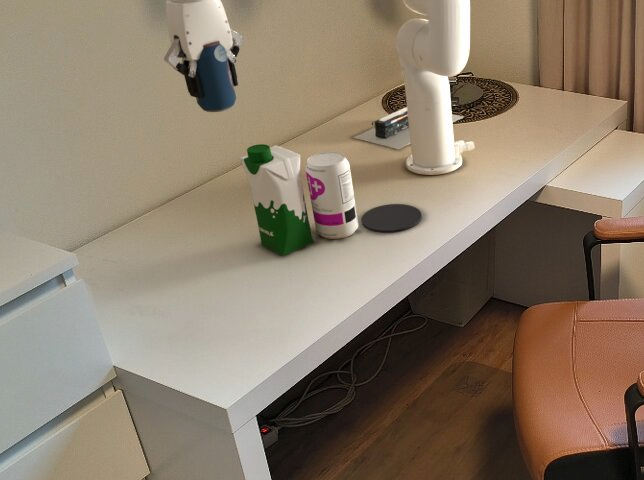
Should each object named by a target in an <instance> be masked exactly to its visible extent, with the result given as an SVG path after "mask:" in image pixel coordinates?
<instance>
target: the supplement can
mask: <svg viewBox="0 0 644 480" xmlns="http://www.w3.org/2000/svg"><path fill="white" fill-rule="evenodd" d="M306 161H307V162H306V164H305V167H304V170H305V176H306V180H307V187H308V193H309V197H310V204H311V209H312V215H313V221H314V227H315V232H316V233H317V234H318V235H319V236H321V237H322V238H324V239H329V240H338V239H339V240H340V239H344V238H347V237H349V236H352V235H353V234H354V233H356V230H358V228H359V219H358V213H357V206H356V200H355V194H354V193H355V191H354V187H353V179H352V172H351V166H350V162H349V161H348V159H347V158H346V156H345V154H343V153H341V152H338V151H323V152H318V153H315V154H312V155H311V156H309V157H308V158H307V160H306Z"/></svg>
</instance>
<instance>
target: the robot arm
mask: <svg viewBox="0 0 644 480" xmlns="http://www.w3.org/2000/svg"><path fill="white" fill-rule="evenodd" d="M402 2H403V4H404V5H405V7H406V8H408V9H409V10H410V11H412V12H414V13H417V14H419V15H423V16H426V17H427V19H425V18H413V19H409V20H407V21H406V22H405V23H403V24H402V25H401V27H399V29H398V32H397V35H396V38H395V46H396V53H397V58H398V61H399V65H400V69H401V72H402V77H403V82H404V91H405V101H406V102H405V103H406V107H407V111H408V121H409V130H410V139H411V143H410V145H411V146H410V149H411V155H409V156H408V157H407V158H406V159H405V167H406V168H407V170H409V171H410V172H412V173H414V174H418V175H423V176H437V175H438V176H439V175H443V174H449V173H452V172H453V171H456V170H458V169H459V168H460V167H462V165H463V156H462V155H463V152H464V153H465V152H469V151H473V150H475V148H476V147H475V143H474V141H473V140H472V141H471V140H470V141H467V142H465V141H464V140H463V139H461V140H458V141H455V140H454V139H455V137H454V125H453V123H452V114H453V112H452V101H451V87H450V82H449V77H450V78H451V77H455V76H457V75H459V74H460V73H461V72H462V71H463V70H464V68H465V67H466V65H467V63H468V60H469V57H470V48H471V47H470V46H471V0H402ZM165 13H166V14H165V15H166V24H167V32H168V37H169V42H170V47H169V48H168V50H167V52H166V54H165V55H164V56H163V57H164V58H163V60H164V62H165V63H167V64H168V65H169V66H171V67H172V68H173V70H175V71H177V72H178V73H180V75H182V76H184V80H185V84H186V88H187V92H188V94H189V95H190V97H192V98H195V99H196V98H200V99H201V98H203V97H204V95H203V91H202V87H201V82H200V78H199V76H196V75H195V74H196V68H197V62H196V61H197V60H198V59H200V55H201V52H202V50H203V46H204V45H209V44H213V43H216V42H218V41H220V44H221V45H222V46H223V47H224V48H225V49H226V54H227V58H228V63H229V67H230V72H231V76H232V81H233V85H234V87H237V86H239V82H238V74H237V70H236V65H235V64H236V63H237V57H238V55H239V52H240V47H241V46H242V43H243V39H244V36H243V35H241V34H240V33H238V32H236V31H235V30H234V29H232V28H231V27H230V23H229V20H228V16H227V13H226V10H225V7H224V5H223V2H222V0H166V1H165ZM178 59H181V62H180V61H179V60H178ZM188 61H190V62H189V63H188Z"/></svg>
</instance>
